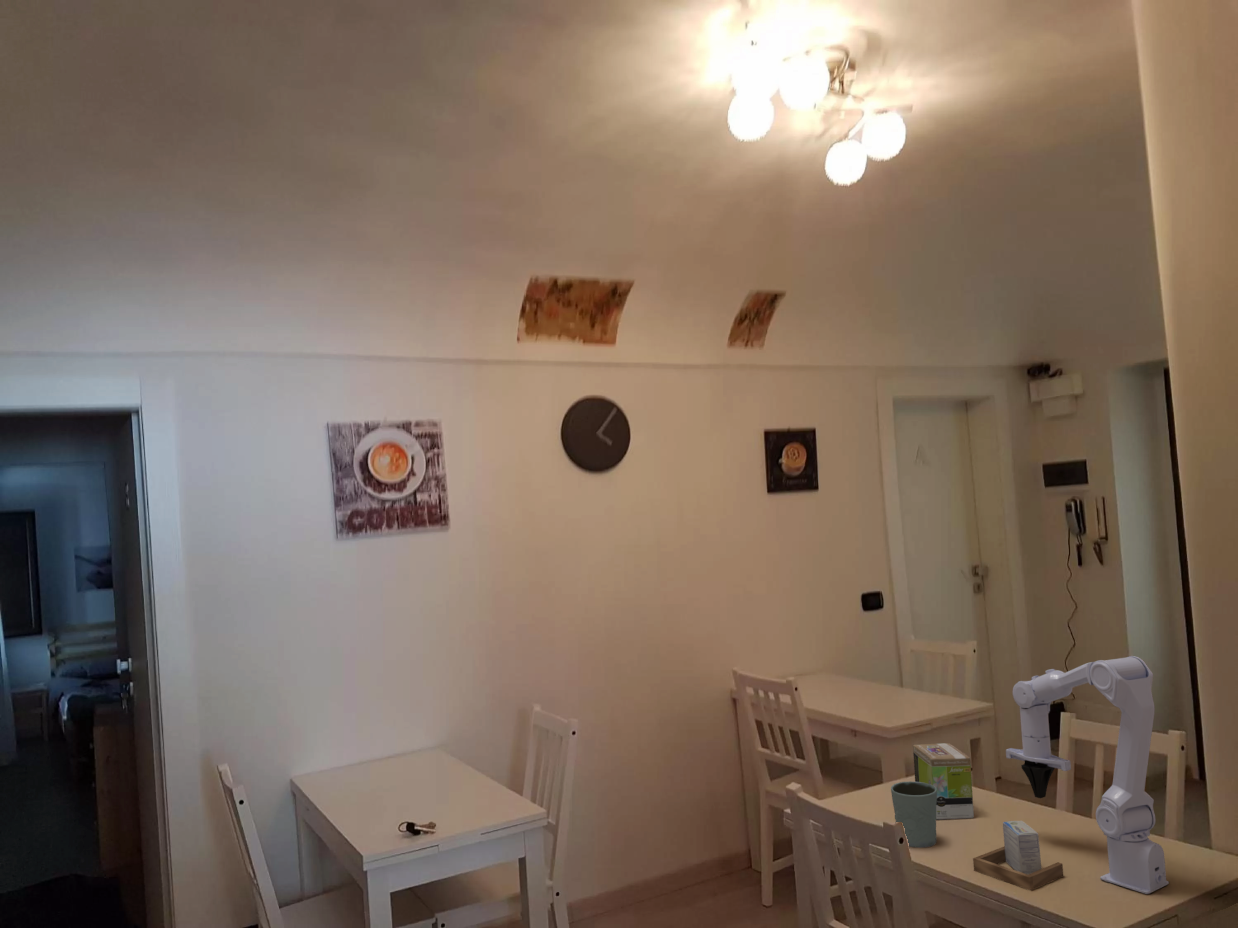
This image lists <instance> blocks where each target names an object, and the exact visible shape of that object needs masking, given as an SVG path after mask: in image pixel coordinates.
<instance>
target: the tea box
mask: <svg viewBox="0 0 1238 928" xmlns="http://www.w3.org/2000/svg"><path fill="white" fill-rule="evenodd" d="M912 748H913V749H912V752H913V753H912V754H913V767H914V782H923V783H927V784H930V785H933V786H934V787H936V789H937V803H936V820H956V819H957V820H958V819H959V820H960V819H962V820H963V819H973V818H974V815H975V814H974V812H975V811H974V801H973V783H972V781H973V778H972V764H971V757H970V756H969V755H967V754H966V753H965V752H963V751H962V750H961V749H958V748H957V747H956V746H954V745H952V744H951V743H950V742H949V743H947V742H946V743H921V744H913V745H912Z"/></svg>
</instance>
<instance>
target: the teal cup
mask: <svg viewBox="0 0 1238 928" xmlns="http://www.w3.org/2000/svg"><path fill="white" fill-rule="evenodd" d="M890 793H891V799H892V800H891V801H892V805H893V809H894V810H893V813H894V820H895V823H896V822H902V823H903V826H904V828H905V834H906V836H907V839H908V843H909V846H910V847H909V846H908V847H909V848H920V849H922V848H929V847H933V846H935V845H936V844H937V819H936V803H937V789H936V787H934V786H933V785H930V784H927V783H923V782H915V781H899V782H897V783H893V784H892V785H891V786H890Z"/></svg>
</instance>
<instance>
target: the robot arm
mask: <svg viewBox="0 0 1238 928" xmlns="http://www.w3.org/2000/svg"><path fill="white" fill-rule="evenodd" d="M1153 679H1154V674H1153V672H1152V670H1151V669H1150V668H1149V667H1148V665H1147V664H1146V662H1145V661H1144V660H1143V659H1142V658H1140V657H1138V656H1134V655H1130V656H1127V657H1119V658H1113V659H1107V660H1105V659H1104V660H1103V659H1099V660H1096V661H1091V662H1087V663H1084V664H1082V665H1079V666H1077V667H1075V668H1072V669H1071V670H1068V671H1066V672H1064V671H1062V670H1059V669H1058V670H1057V669H1055V668H1051V669H1050V668H1049V669H1047V670H1045V673H1044V674H1042V675H1033V676H1031V680H1020V681H1019V680H1018V682H1016V683H1015V684H1014V685H1013V687H1012V697H1013V700H1014V703H1016V705H1017V706H1019V714H1020V729H1021V730H1020V731H1021V741H1022V748H1021V749H1019V748H1013V747H1010V748H1007V749H1005V756H1006V757H1005V758H1006V759H1011V760H1012V759H1014V760H1019V761H1023V762H1024V763H1023V764H1021V769H1022V771H1023V772H1024V774H1025V776H1026V777H1027V779H1028V781H1029V783H1030V787H1031V789H1032V791H1033V795H1034V797H1035V798H1038V799H1043V798H1046V796H1047V790H1048V785H1049V781H1050V779H1051V776H1052V774H1053V772H1054V770H1055V769H1059V770H1061V771H1064V772H1068V771H1070V770H1071V769H1072V767H1071V766H1072V765H1071V760H1069V759H1064V758H1061V757H1059V756H1056V755H1054V754H1052V751H1051V749H1052V747H1051V735H1050V723H1049V714H1050V712H1051V704H1052V702H1054V701H1057V700H1061V699H1063V698H1066V697H1069V695H1071V693H1072V692H1073V688H1076V687H1080V686H1083V685H1086V684H1089V686H1094V687H1095V689H1097V690H1098V692H1100V694H1101V695H1103V696H1104V698H1105V699H1106V700H1107V701H1109V703H1111V704H1112V705H1113V706H1114V707H1116V708H1118V709H1119V710H1120V712H1121V715H1120V723H1119V728H1118V729H1119V731H1118V737H1117V738H1118V739H1117V746H1116V753H1115V754H1116V755H1115V762H1114V763H1115V764H1114V770H1113V777H1112V778H1113V779H1112V784H1111V786H1110V787H1109V788H1108V789H1107V790H1106V791H1105V792H1104V794H1103V795H1102V796H1101V801H1100V803H1099V805H1098V806H1097V807H1096V811H1095V820H1096V823H1097V825H1098V828H1099V829H1100V830H1101V831H1102V833H1103V835H1104V836H1105V837H1106V843H1107V857H1108V867H1109V868H1108V869H1109V872H1108V873H1106V874H1104V875H1100V877H1099V878H1100V880H1102V881H1105V882H1107V883H1111V884H1113V885H1117V886H1121V887H1123V888H1126V889H1129V890H1133V891H1136V892H1139V893H1142V894H1146V895H1149V894H1151V893H1153V892H1155V891H1157V890H1159V889H1161V888H1163V887H1165V886H1167V885H1169V883H1170V882H1169V881H1168V880H1167V875H1166V874H1167V873H1166V862H1165V861H1166V860H1165V851H1164V849H1163V847H1162V845H1160V844H1159V843H1157V842H1154V841H1153V840H1151V839H1150V838H1149V837H1150V836H1151V833H1150V832H1151V830H1152V829H1153V828H1154V827H1155V825H1156V814H1155V811H1154V801H1155V800H1154V798H1152V797H1151V795H1149V793H1147V792H1146V791H1145V789H1146V788H1145V787H1146V780H1147V779H1146V778H1147V772H1148V766H1149V765H1148V763H1149V759H1150V758H1149V755H1150V750H1151V749H1150V748H1151V741H1152V733H1153V726H1154V718H1155V703H1154V698H1153V692H1152V688H1153Z"/></svg>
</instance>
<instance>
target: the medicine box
mask: <svg viewBox="0 0 1238 928" xmlns="http://www.w3.org/2000/svg"><path fill="white" fill-rule="evenodd" d="M1002 831H1003V832H1002V833H1003V841H1004V845H1003V846H1005V857H1006V861H1005V862H1006V864H1008V865H1009V866H1010V867H1011V869H1013V870H1016V871H1019V872H1022V873H1024V874H1027V875H1028V874H1031V873H1033V872H1036V871H1038V870H1040V869H1043V867H1042V860H1041V850H1040V849H1041V848H1040V847H1041V846H1040V839H1039V837H1040V835H1039V833H1038V832H1037V831H1036V830H1035V829H1034V828H1032V827H1031V826H1030V825H1028V824H1027V823H1026V822H1025V821H1023V820H1009V821H1003V822H1002Z"/></svg>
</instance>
